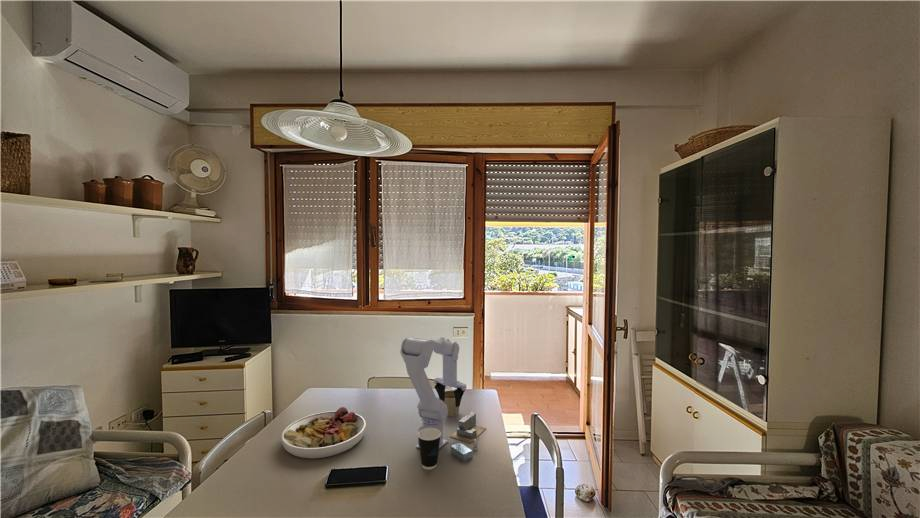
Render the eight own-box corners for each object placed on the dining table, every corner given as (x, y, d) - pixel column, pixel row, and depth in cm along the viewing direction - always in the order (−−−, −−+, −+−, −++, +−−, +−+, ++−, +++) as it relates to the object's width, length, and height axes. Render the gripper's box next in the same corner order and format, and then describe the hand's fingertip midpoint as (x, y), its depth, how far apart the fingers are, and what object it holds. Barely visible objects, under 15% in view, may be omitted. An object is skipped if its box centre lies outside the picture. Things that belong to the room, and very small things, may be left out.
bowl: (340, 468, 127) (340, 444, 127) (262, 457, 133) (262, 435, 133) (378, 426, 156) (378, 407, 156) (313, 419, 163) (312, 401, 162)
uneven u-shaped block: (470, 423, 157) (470, 411, 157) (485, 427, 154) (485, 415, 153) (456, 435, 148) (456, 422, 147) (471, 439, 144) (471, 426, 144)
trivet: (470, 443, 142) (470, 442, 142) (449, 437, 147) (449, 436, 147) (486, 429, 153) (486, 428, 153) (466, 423, 158) (466, 422, 158)
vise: (470, 444, 142) (470, 434, 141) (483, 452, 136) (483, 442, 136) (450, 452, 136) (450, 443, 136) (463, 461, 130) (463, 451, 130)
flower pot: (453, 420, 161) (453, 400, 160) (436, 414, 166) (436, 395, 166) (466, 412, 168) (466, 393, 168) (449, 407, 174) (449, 388, 174)
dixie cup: (424, 456, 133) (424, 425, 133) (445, 462, 130) (445, 430, 130) (413, 469, 126) (413, 436, 125) (434, 474, 123) (434, 441, 122)
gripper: (470, 371, 153) (470, 404, 153) (441, 364, 160) (441, 396, 161) (460, 376, 147) (460, 411, 147) (430, 369, 155) (431, 402, 155)
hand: (450, 403), depth 154 cm, fingers open, 7 cm apart
